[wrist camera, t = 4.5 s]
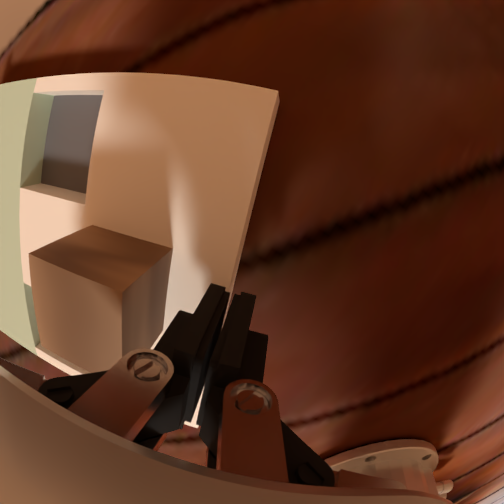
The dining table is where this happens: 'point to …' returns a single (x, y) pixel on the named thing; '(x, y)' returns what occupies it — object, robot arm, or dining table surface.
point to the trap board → (129, 178)
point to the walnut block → (99, 295)
